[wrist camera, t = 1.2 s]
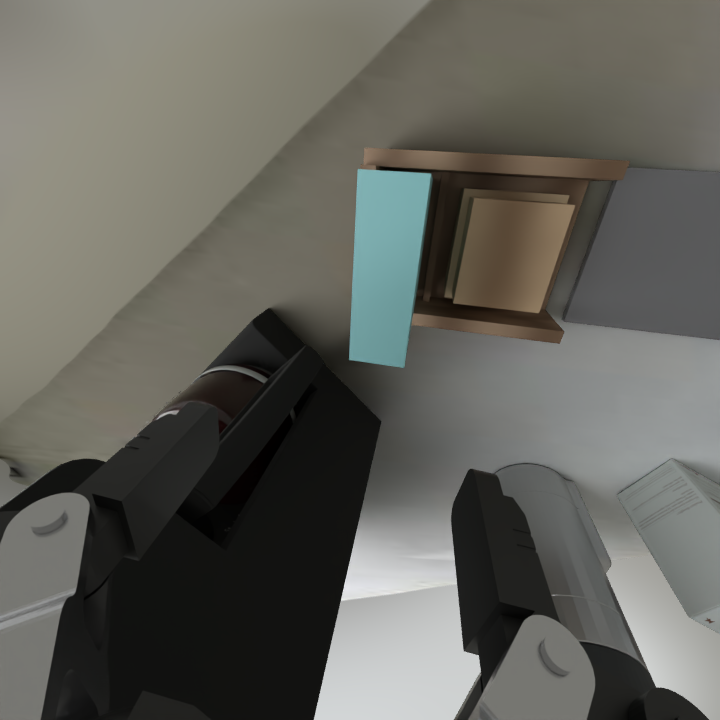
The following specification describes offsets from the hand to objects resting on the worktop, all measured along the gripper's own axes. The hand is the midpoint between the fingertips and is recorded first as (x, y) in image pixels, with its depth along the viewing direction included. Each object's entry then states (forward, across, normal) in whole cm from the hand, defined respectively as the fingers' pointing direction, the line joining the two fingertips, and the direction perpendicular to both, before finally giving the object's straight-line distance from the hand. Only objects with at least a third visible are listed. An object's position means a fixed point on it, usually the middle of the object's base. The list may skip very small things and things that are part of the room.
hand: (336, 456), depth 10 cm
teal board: (+23, -1, -4) cm, 23 cm away
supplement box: (+23, -35, +17) cm, 45 cm away
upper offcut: (+20, -8, -4) cm, 22 cm away
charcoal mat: (+23, -22, -6) cm, 33 cm away
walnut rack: (+24, -6, -4) cm, 25 cm away
